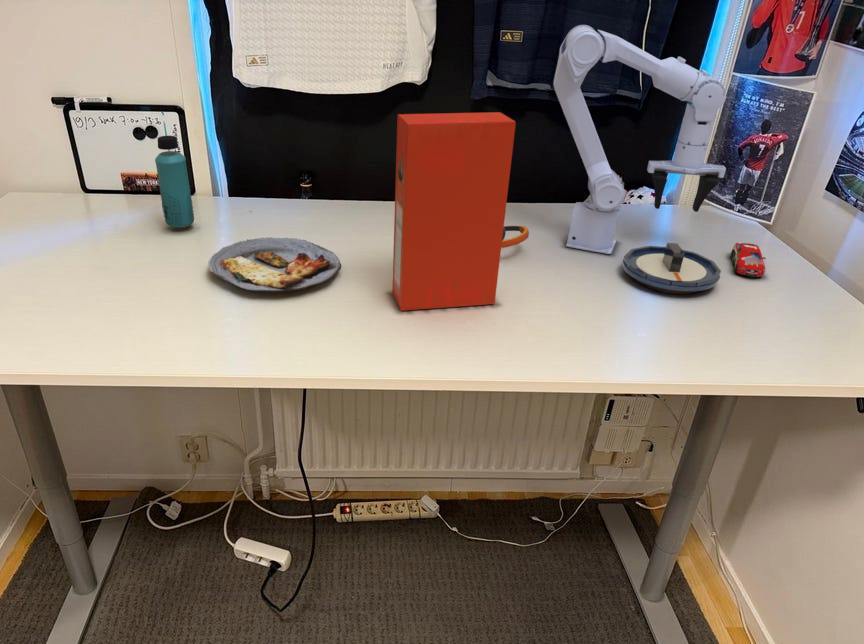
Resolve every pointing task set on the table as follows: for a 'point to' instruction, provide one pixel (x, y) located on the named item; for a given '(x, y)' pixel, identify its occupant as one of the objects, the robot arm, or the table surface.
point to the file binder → (450, 207)
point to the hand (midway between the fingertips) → (675, 208)
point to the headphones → (514, 240)
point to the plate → (671, 268)
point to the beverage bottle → (174, 184)
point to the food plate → (275, 264)
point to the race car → (748, 259)
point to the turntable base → (665, 289)
